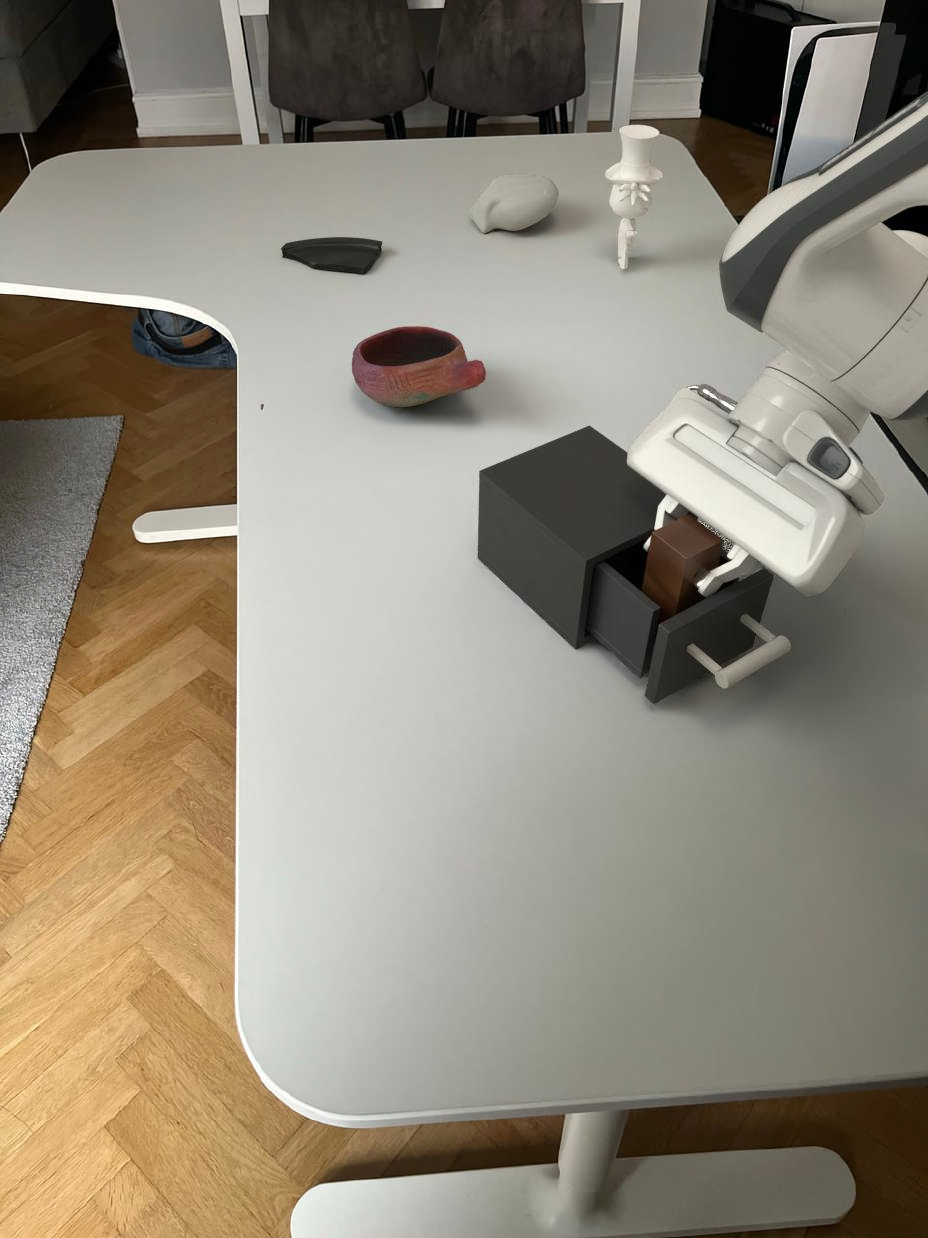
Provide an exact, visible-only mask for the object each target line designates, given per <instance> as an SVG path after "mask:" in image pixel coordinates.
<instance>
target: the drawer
mask: <svg viewBox="0 0 928 1238" xmlns="http://www.w3.org/2000/svg"><path fill="white" fill-rule="evenodd" d="M648 539H649V538H648ZM648 539H646V540H643V541H641V542H639V543H637V544H635V545H633V546H631V547H629V548H627V549H625V550H623V551H621V552H619V553H617V554H615V555H613V556H611V557H609V558H607V559H605V560H603V561H600V562H598V563H596V564H594V565H593V572H592V580H591V588H590V596H589V603H588V611H587V619H586V626H585V629H586V630H587V631H588V632H589V633H590V634H592V635H593V636H594V637H595V638H596V639H595V640H597V641H598V642H599V643H600V644H601V645H602V646H603V647H605V648H606V649H607V650H608V651H609V652H610V653H611V654H613V655H614V656H615V658H617V659H618V660H619V661H620V662H621V663H622V664H623V665H625V666H626V667H627V668H628V669H629V670H630V671H631V672H632V673H634V674H635V675H636V676H637V677H638V678H639V679H642V678H643V677H645V676H648V677H647V682H646V686H645V691H644V697H645V698H646V699H647V700H648V701H649V702H650V703H651V704H652V705H657V704H658V703H660V702H661V701H663V700H665V699H666V698H668V697H670V696H672V695H673V694H675V693H677V692H678V691H680V690H682V689H684V688H686V687H687V686H689V685H691V684H693V683H694V682H696V681H697V680H700V679H701V678H703V677H704V676H706V675H708V674H710V673H712V674H713V675H714V679H715V682H716V684H717V686H719V687H720V689H726V690H727V689H729V687H731V686H733V685H735V684H736V683H738V682H740V681H742V680H743V679H745V678H746V677H748V676H750V675H751V674H753V673H755V672H756V671H758V670H760V669H761V668H763V667H765V666H766V665H768V664H770V663H772V662H773V661H775V660H776V659H778V658H780V657H782V656H783V655H785V654H787V653H788V652H790V651H791V649H792V643H791V642H790V640H789V639H788V638H787V636H784V635H778V636H776V635H775V634H774V633H772V632H771V631H770V630H768V629H767V628H766V627H764V626H763V625H762V624H761V622H762V618H763V616H764V612H765V610H766V609H765V608H766V606H767V605H766V604H767V602H768V599H769V595H770V591H771V588H772V585H773V582H774V579H775V573H773V572H772V571H769V569H768V568H766V567H762V568H761V569H758V570H756V571H754V572H753V573H751V574H749V575H747V576H745V577H744V578H742V579H740V578H741V576H740V577H738V578H735V579H733V580H731V581H728V582H726V583H725V582H723V584H722V585H721V586H720V587H719V589H718V590H717V591H716V592H715V594H714V595H712V596H710V597H708V598H707V599H705V600H703V601H701V602H699V603H697V604H695V605H694V606H692V607H690V608H688V609H686V610H684V611H682V612H681V613H679V614H677V615H675V616H673V617H671V618H670V619H668V620H666V621H664V622H662V623H660V622H659V621H658V618H659V613H660V607H659V606H658V605H657V604H656V603H654V602H653V601H652V600H651V599H650V598H648V597H647V596H646V595H645V594H643V593H642V592H641V591H642V585H643V580H644V574H645V568H646V563H647V557H648V552H647V551H646V550H645V549H644V548H643V547H644V544H645V543H646V541H647V540H648ZM728 553H729V552H728V551H727V550H725V549H724V548H723V547H722V551H721V555H720V559H719V563H718V567H720V566H722V565H724V564H726V563H728V562H730V561H732V560H731V559H729V558H728V557H727V555H728ZM718 567H717V568H718ZM757 636H758V637H760V639H762V640H763V641H765V642H766V643H765V644H763V645H761V646H759V647H758V648H756V649H754V650H753V651H751V652H749V653H747V654H746V655H744V656H742V657H741V658H739V659H738V660H736V661H734V662H732V663H730V664H729V665H727V666H726V667H722V666H723V665H725V664H726V663H728V662H730V661H732V660H733V659H735V658H737V657H738V656H740V655H742V654H743V653H745V652H747V651H749V650H751V649H752V648H753V647H754V644H755V643H756V638H757Z"/></svg>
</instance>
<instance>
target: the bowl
mask: <svg viewBox="0 0 928 1238" xmlns="http://www.w3.org/2000/svg"><path fill="white" fill-rule="evenodd" d="M351 373H352V376H353V379H354V381H355V383H356V385H357V387H358V388H359V389H360V391H361V392H362V393H363V394H364V395H365V396H367V397H368V398H369V399H371V400H372V401H374V402H376V403H378V404H381V405H383V406H387V407H392V408H410V407H415V406H419V405H423V404H425V403H429V402H432V401H435V400H436V399H439V398H442V397H444V396H448V395H452V394H457V393H462V392H464V391H468V390H471V389H475V388H477V387H479V386H480V385H481V384H482V383H484V382H485V380H486V376H487V371H486V368H485V364H484V363H483V361H482V360H477V359H473V360H469V361H468V358H467V354H466V351H465V348H464V345H463V343H462V341H461V340H460V339H459V338H458V337H457V336H456V335H454V334H452V333H450V332H449V331H445V330H441V329H438V328H435V327H431V326H423V325H421V326H420V325H416V326H415V325H414V326H413V325H412V326H410V325H409V326H406V325H405V326H399V327H398V326H397V327H394V328H391V329H390V328H389V329H386V330H383V331H380V332H377V333H374V334H373V335H371V336H369V337H367V338H364V339H363V340H361V341H360V342H358V343H357V345H356V346H355V347H354V349H353V352H352V358H351Z"/></svg>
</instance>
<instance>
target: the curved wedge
mask: <svg viewBox="0 0 928 1238" xmlns="http://www.w3.org/2000/svg"><path fill="white" fill-rule="evenodd" d="M382 246H383V241H382V240H378V239H372V238H365V237H352V236H328V237H316V238H306V239H300V240H295V241H289V242H285V243H284V244H283V245H282V246H281V248H280V250H281V253H282V255H281V256H282V258H285V259H288V260H293V261H296V262H299V263H301V264H302V265H305V266H308V267H309V268H311V269H315V270H325V271H337V272H346V273H356V274H366V272H367V271H368V270H369V269H370V268H371V267H372V266H373V265H374V262H375V260H376V258H377V257H378V256H379V255H380V254H381V253H382Z"/></svg>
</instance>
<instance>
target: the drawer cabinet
mask: <svg viewBox="0 0 928 1238" xmlns="http://www.w3.org/2000/svg"><path fill="white" fill-rule="evenodd" d="M627 454H628V451H627V450H625V449H623V448H622V447H621V446H619V445H618V444H617V443H615V442H613V441H612V440H611V439H610V438H608V437H606V436H605V435H604V434H602V433H601V432H600V431H598V430H597V429H595V427H593V426H592V425H587V426H584V427H582V428H580V429H578V430H575V431H573V432H570V433H567V434H565V435H563V436H560V437H558V438H556V439H553V440H551V441H548V442H545V443H543V444H541V445H538V446H536V447H533V448H532V449H528V450H526V451H523V452H522V453H518V454H517V455H514V456H511V457H510V458H507V459H504V460H502V461H499V462H498V463H495V464H492V465H490V466H488V467H485V468H482V469H480V470H479V471H478V516H477V517H478V519H477V521H478V523H477V559H478V560H479V561H480V562H481V563H482V564H483V565H484V566H485V567H486V568H487V569H488V570H489V571H491V573H493V574H494V575H495V576H496V577H497V578H498V579H499V580H500V581H501V582H502V583H503V584H505V586H507V587H508V589H510V590H511V591H512V592H513V593H514V594H515V595H516V596H518V597H519V599H521V600H522V602H524V603H525V604H526V605H527V606H528V607H529V608H531V609H532V611H533V612H534V613H536V614H537V615H538V616H539V617H540V618H541V619H542V620H543V621H544V622H545V623H546V624H548V625H549V627H551V629H553V630H554V631H555V632H556V633H557V634H558V635H560V637H561V638H562V639H564V641H566V642H567V643H568V644H569V645H570V646H571V647H572V648H573V649H574V650H577V649H579V648H581V647H583V646H584V645H586V644H589V643H590V642H592V641H594V640H597V639H596V638H595V637H594V636H593V635H592V634H590V633H589V632H588V631H587V630H586V629H585V626H586V619H587V611H588V603H589V596H590V588H591V580H592V572H593V565H594V564H596V563H598V562H600V561H603V560H605V559H607V558H609V557H611V556H613V555H615V554H617V553H619V552H621V551H623V550H625V549H627V548H629V547H631V546H633V545H635V544H637V543H639V542H641V541H643V540H646V539H648V538H650V536H651V534H652V532H653V531H655V529H654V528H655V522H656V516H657V510H658V506H659V504H660V503H661V502H662V500H663V499H664V498H665V496H666V495H667V494H665V493H664V492H663V491H661V490H660V489H658V488H657V487H656V486H654V485H653V484H652V483H650V482H649V481H647V480H646V479H645V478H643V477H642V476H641V475H639V474H638V473H637V472H635V471H634V470H633V469H631V468H630V467H629V466H628V465H627ZM688 514H689V515H690V516H692V517H693V518H694V519H696V520H697V521H698V522H699V518H698V517H697V516H695V515H694V514H693V513H691V512H690V511H689V512H688V513H687V514H686V515H688ZM686 515H685V516H686ZM675 520H677V519H676V518H675Z"/></svg>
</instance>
